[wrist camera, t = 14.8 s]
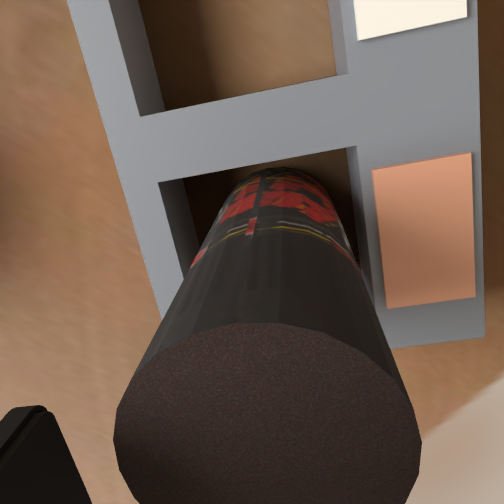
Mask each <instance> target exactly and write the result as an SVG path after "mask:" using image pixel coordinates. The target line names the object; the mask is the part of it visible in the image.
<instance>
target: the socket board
mask: <svg viewBox="0 0 504 504" xmlns="http://www.w3.org/2000/svg"><path fill="white" fill-rule="evenodd" d="M67 3H68V6H69V10H70V13H71V17H72V20H73V23H74V27H75V30H76V33H77V37H78V40H79V43H80V47H81V50H82V53H83V57H84V60H85V64H86V67H87V70H88V74H89V77H90V80H91V84H92V87H93V90H94V94H95V97H96V101H97V104H98V107H99V111H100V114H101V117H102V121H103V124H104V127H105V131H106V134H107V137H108V141H109V144H110V148H111V151H112V154H113V158H114V161H115V164H116V168H117V171H118V174H119V178H120V181H121V184H122V188H123V191H124V195H125V198H126V201H127V205H128V208H129V211H130V215H131V218H132V221H133V225H134V228H135V232H136V235H137V238H138V242H139V245H140V248H141V252H142V255H143V258H144V262H145V265H146V268H147V272H148V275H149V279H150V282H151V285H152V289H153V292H154V295H155V299H156V302H157V305H158V309H159V312H160V316H161V319H162V320H163V318H164V316H165V314H166V312H167V310H168V309H169V307H170V305H171V303H172V301H173V299H174V297H175V295H176V293H177V291H178V290H179V288H180V286H181V284H182V282H183V280H184V278H185V276H186V274H187V272H188V271H189V269H190V267H191V265H192V263H193V261H194V259H195V257H196V255H197V253H198V252H199V250H200V246H199V242H198V238H197V234H196V230H195V226H194V222H193V218H192V214H191V210H190V206H189V202H188V198H187V194H186V190H185V186H184V182H183V178H184V177H190V176H195V175H200V174H206V173H211V172H217V171H222V170H227V169H233V168H238V167H243V166H249V165H254V164H259V163H265V162H270V161H276V160H281V159H286V158H292V157H297V156H302V155H308V154H313V153H318V152H324V151H329V150H335V149H340V148H345V147H346V154H347V162H348V170H349V178H350V186H351V194H352V202H353V210H354V218H355V226H356V235H357V243H358V251H359V259H360V267H361V275H362V278H363V280H364V283H365V285H366V288H367V291H368V293H369V296H370V298H371V301H372V304H373V306H374V309H375V311H376V314H377V316H378V319H379V322H380V324H381V327H382V329H383V332H384V335H385V337H386V340H387V342H388V345H389V347H390V349H394V348H402V347H410V346H418V345H426V344H434V343H442V342H450V341H458V340H466V339H474V338H482V337H485V311H484V269H483V227H482V185H481V143H480V101H479V59H478V17H477V0H328V8H329V16H330V24H331V32H332V40H333V48H334V57H335V65H336V73H337V75H336V76H331V77H327V78H322V79H317V80H312V81H307V82H303V83H298V84H293V85H288V86H283V87H279V88H274V89H269V90H264V91H259V92H255V93H250V94H245V95H240V96H235V97H231V98H226V99H221V100H216V101H211V102H207V103H202V104H197V105H192V106H187V107H183V108H178V109H173V110H168V111H166V110H165V106H164V102H163V98H162V94H161V90H160V86H159V82H158V78H157V74H156V70H155V66H154V62H153V58H152V54H151V50H150V46H149V42H148V38H147V34H146V30H145V26H144V22H143V18H142V14H141V10H140V6H139V2H138V0H67Z"/></svg>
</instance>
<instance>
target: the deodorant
mask: <svg viewBox="0 0 504 504" xmlns="http://www.w3.org/2000/svg"><path fill="white" fill-rule="evenodd" d="M113 442H114V446H115V451H116V456H117V461H118V466H119V470H120V472H121V474H122V476H123V478H124V480H125V482H126V483H127V485H128V487H129V489H130V491H131V493H132V495H133V496H134V498H135V499H136V500H137V501H138V502H139V503H140V504H405V503H406V501H407V498H408V496H409V494H410V492H411V490H412V488H413V486H414V484H415V481H416V479H417V477H418V475H419V466H420V455H421V446H422V441H421V437H420V433H419V429H418V425H417V421H416V417H415V413H414V409H413V407H412V404H411V402H410V399H409V397H408V394H407V391H406V389H405V386H404V384H403V381H402V378H401V376H400V373H399V371H398V368H397V366H396V363H395V360H394V358H393V355H392V353H391V350H390V347H389V345H388V342H387V340H386V337H385V335H384V332H383V329H382V327H381V324H380V322H379V319H378V316H377V314H376V311H375V309H374V306H373V304H372V301H371V298H370V296H369V293H368V291H367V288H366V285H365V283H364V280H363V278H362V275H361V273H360V270H359V267H358V265H357V262H356V260H355V257H354V254H353V252H352V249H351V247H350V244H349V242H348V239H347V236H346V234H345V231H344V229H343V226H342V224H341V221H340V218H339V216H338V213H337V211H336V208H335V205H334V203H333V201H332V199H331V198H330V196H329V194H328V193H327V191H326V189H325V188H324V187H323V186H321V185H320V184H319V183H318V182H317V181H316V180H315V179H314V178H312V177H310V176H308V175H306V174H305V173H303V172H301V171H298V170H293V169H288V168H267V169H264V170H261V171H258V172H254V173H252V174H250V175H249V176H247V177H246V178H244V179H243V180H241V181H240V182H239V183H238V184H237V185H236V186H235V187H234V188H233V189H232V190H231V192H230V193H229V194H228V196H227V198H226V200H225V202H224V204H223V206H222V208H221V210H220V212H219V213H218V215H217V217H216V219H215V221H214V223H213V225H212V227H211V229H210V231H209V233H208V234H207V236H206V238H205V240H204V242H203V244H202V246H201V248H200V250H199V252H198V253H197V255H196V257H195V259H194V261H193V263H192V265H191V267H190V269H189V271H188V272H187V274H186V276H185V278H184V280H183V282H182V284H181V286H180V288H179V290H178V291H177V293H176V295H175V297H174V299H173V301H172V303H171V305H170V307H169V309H168V310H167V312H166V314H165V316H164V318H163V320H162V322H161V324H160V326H159V328H158V329H157V331H156V333H155V335H154V337H153V339H152V341H151V343H150V345H149V347H148V348H147V350H146V352H145V354H144V356H143V358H142V360H141V362H140V364H139V366H138V367H137V369H136V371H135V373H134V375H133V377H132V379H131V381H130V383H129V385H128V387H127V389H126V391H125V393H124V395H123V397H122V399H121V401H120V403H119V405H118V407H117V412H116V420H115V428H114V437H113Z"/></svg>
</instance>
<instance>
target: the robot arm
mask: <svg viewBox="0 0 504 504" xmlns="http://www.w3.org/2000/svg"><path fill="white" fill-rule="evenodd" d="M0 504H92V502H91V499H90V497H89V495H88V493H87V490H86V488H85V486H84V483H83V481H82V479H81V476H80V474H79V472H78V469H77V467H76V465H75V462H74V460H73V458H72V456H71V453H70V451H69V449H68V446H67V444H66V442H65V439H64V437H63V435H62V432H61V430H60V428H59V425H58V423H57V421H56V419H55V416H54V415H53V413H51V412H48V411H47V409H46V408H45V407H44V406H41V405H35V406H26V407H16V408H13V409H11V410H10V411H9V412H8V413H7V414H6V415H5V416H4V418H3V419H2V420H1V421H0Z"/></svg>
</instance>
